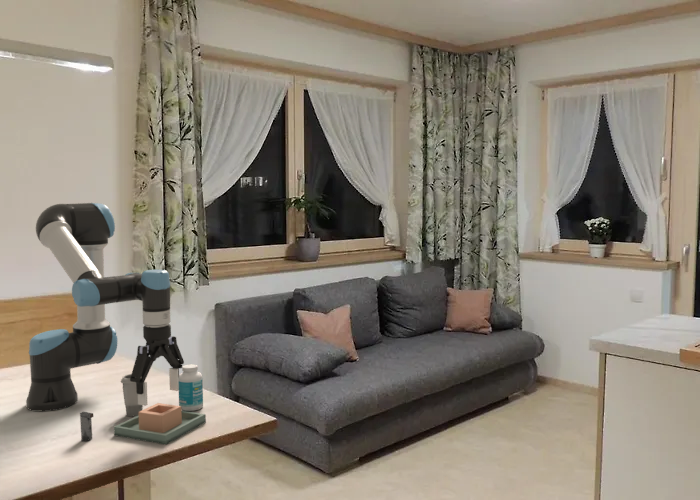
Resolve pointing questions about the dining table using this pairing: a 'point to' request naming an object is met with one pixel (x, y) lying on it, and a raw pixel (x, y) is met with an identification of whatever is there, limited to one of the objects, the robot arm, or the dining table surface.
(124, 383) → the cup
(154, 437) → the tray
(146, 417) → the pink open box
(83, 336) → the robot arm
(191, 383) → the pill bottle
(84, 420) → the post
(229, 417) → the dining table surface
